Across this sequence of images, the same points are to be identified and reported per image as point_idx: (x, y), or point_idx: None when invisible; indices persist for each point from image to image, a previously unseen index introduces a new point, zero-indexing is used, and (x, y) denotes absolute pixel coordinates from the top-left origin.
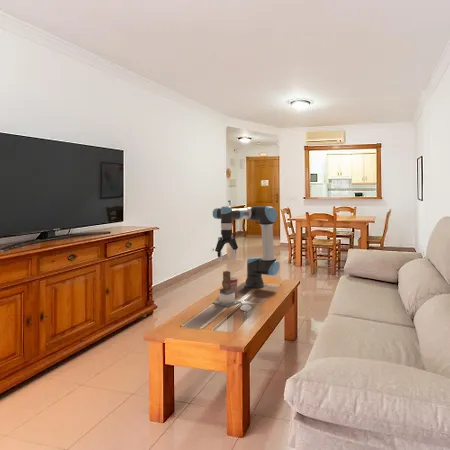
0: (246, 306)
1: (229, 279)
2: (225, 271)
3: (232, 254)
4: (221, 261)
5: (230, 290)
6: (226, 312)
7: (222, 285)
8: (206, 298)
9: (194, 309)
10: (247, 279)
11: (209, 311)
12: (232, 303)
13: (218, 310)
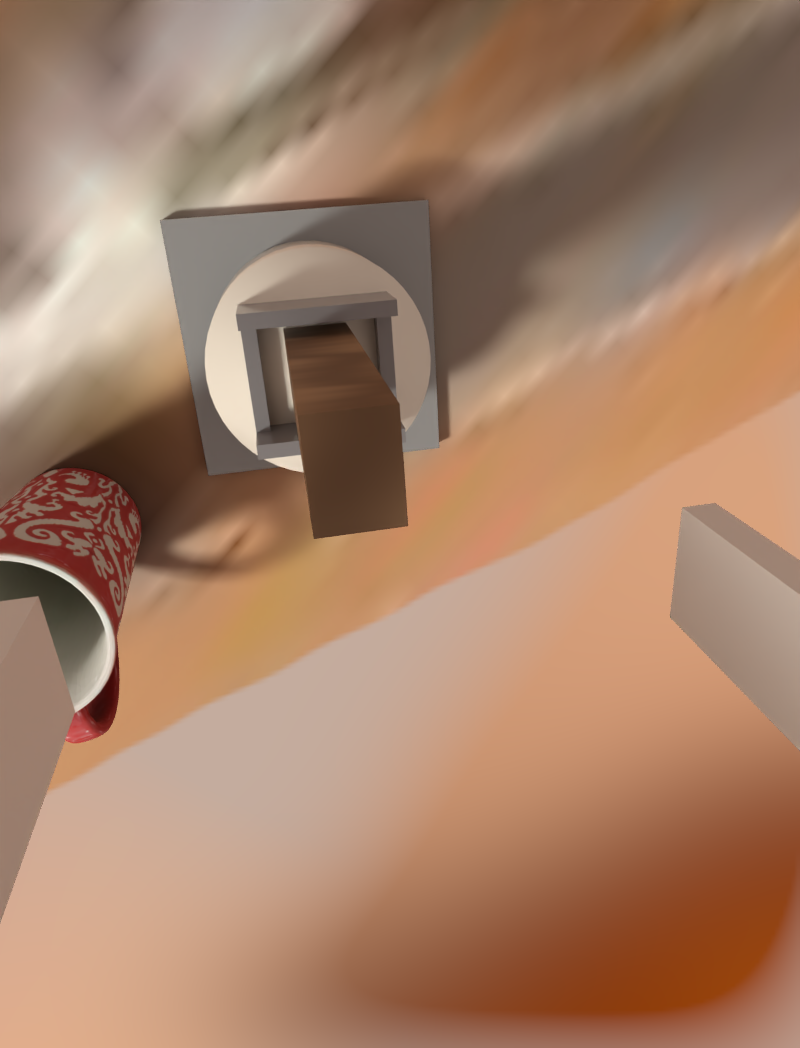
0: (224, 16)
1: (316, 371)
2: (359, 505)
3: (19, 800)
4: (702, 507)
5: (312, 304)
6: (597, 16)
7: (118, 691)
8: (355, 623)
9: (710, 385)
10: None
11: (679, 212)
12: (311, 234)
13: (593, 165)
